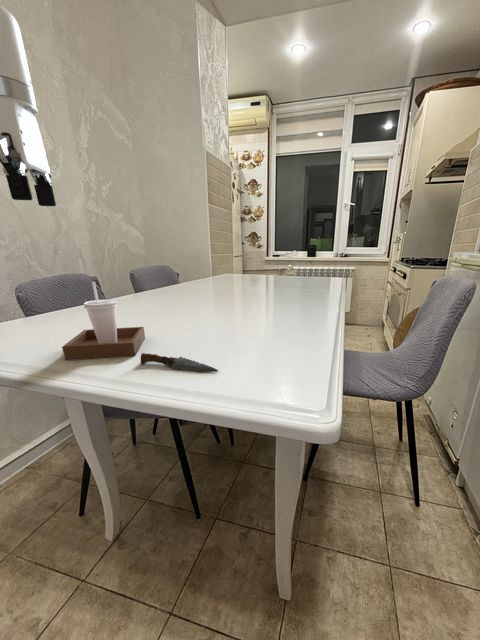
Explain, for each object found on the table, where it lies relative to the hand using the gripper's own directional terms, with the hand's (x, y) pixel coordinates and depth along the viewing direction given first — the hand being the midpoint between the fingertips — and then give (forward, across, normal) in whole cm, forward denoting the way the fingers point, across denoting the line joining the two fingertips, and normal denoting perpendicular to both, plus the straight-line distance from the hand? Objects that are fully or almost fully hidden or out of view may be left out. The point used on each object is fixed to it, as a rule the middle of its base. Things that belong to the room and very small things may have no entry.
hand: (36, 203), depth 59 cm
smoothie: (+30, +5, +10) cm, 32 cm away
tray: (+30, +5, +10) cm, 32 cm away
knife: (+31, +19, +26) cm, 45 cm away
